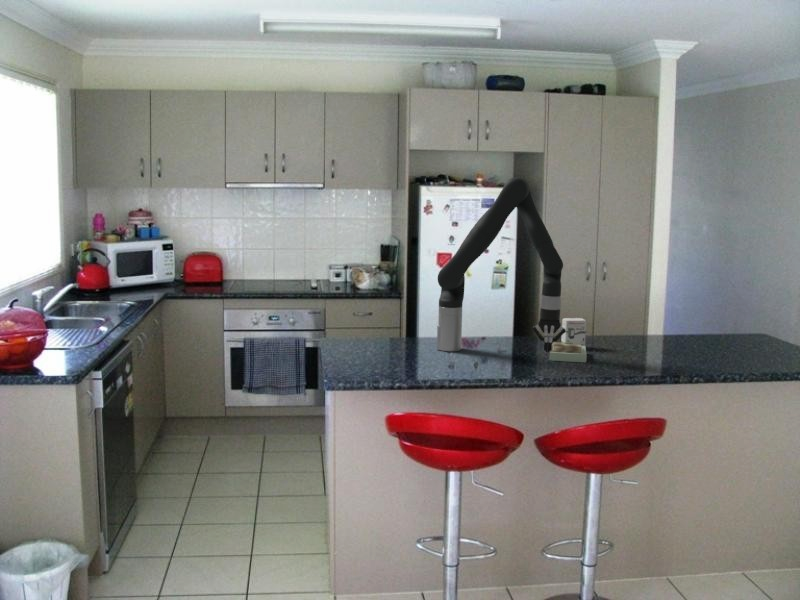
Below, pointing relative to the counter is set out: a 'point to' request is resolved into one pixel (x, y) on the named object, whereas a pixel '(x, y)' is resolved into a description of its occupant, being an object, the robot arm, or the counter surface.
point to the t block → (566, 347)
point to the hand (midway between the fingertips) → (547, 351)
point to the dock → (569, 356)
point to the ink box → (574, 331)
